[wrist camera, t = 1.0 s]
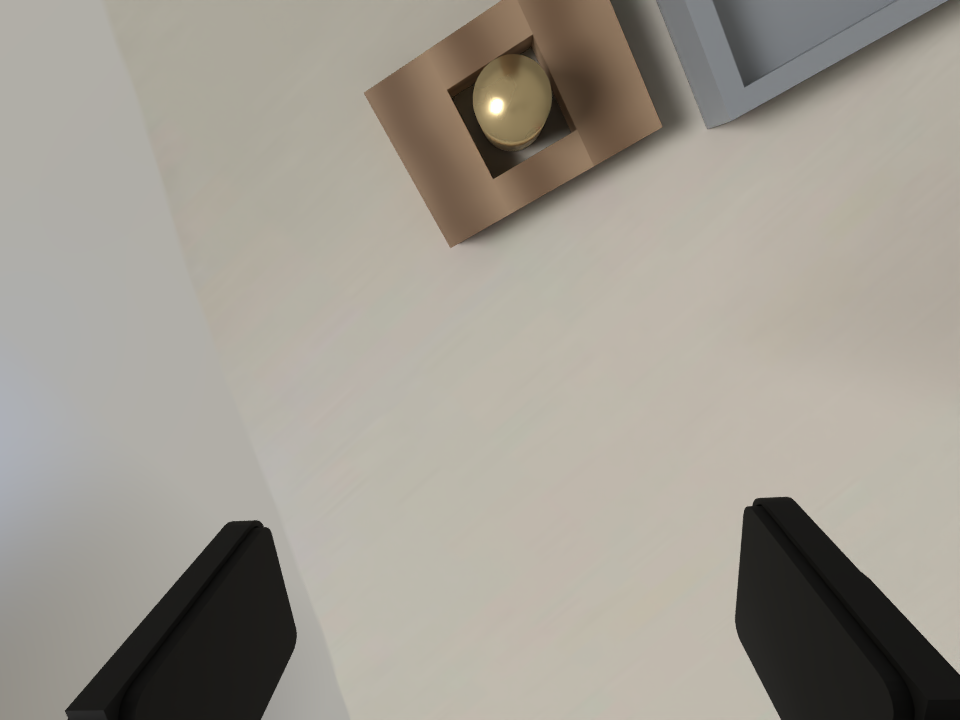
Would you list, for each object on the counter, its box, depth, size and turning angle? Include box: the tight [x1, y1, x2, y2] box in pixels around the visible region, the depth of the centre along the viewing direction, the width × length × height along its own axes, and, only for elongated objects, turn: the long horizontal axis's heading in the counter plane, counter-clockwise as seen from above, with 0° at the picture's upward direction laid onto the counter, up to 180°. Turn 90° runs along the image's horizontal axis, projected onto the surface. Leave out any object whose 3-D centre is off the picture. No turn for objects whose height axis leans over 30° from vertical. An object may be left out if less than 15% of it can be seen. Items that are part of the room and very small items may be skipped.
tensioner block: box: [364, 0, 662, 248], centre depth 30 cm, size 14×10×2 cm
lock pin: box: [473, 54, 552, 151], centre depth 28 cm, size 4×4×6 cm
